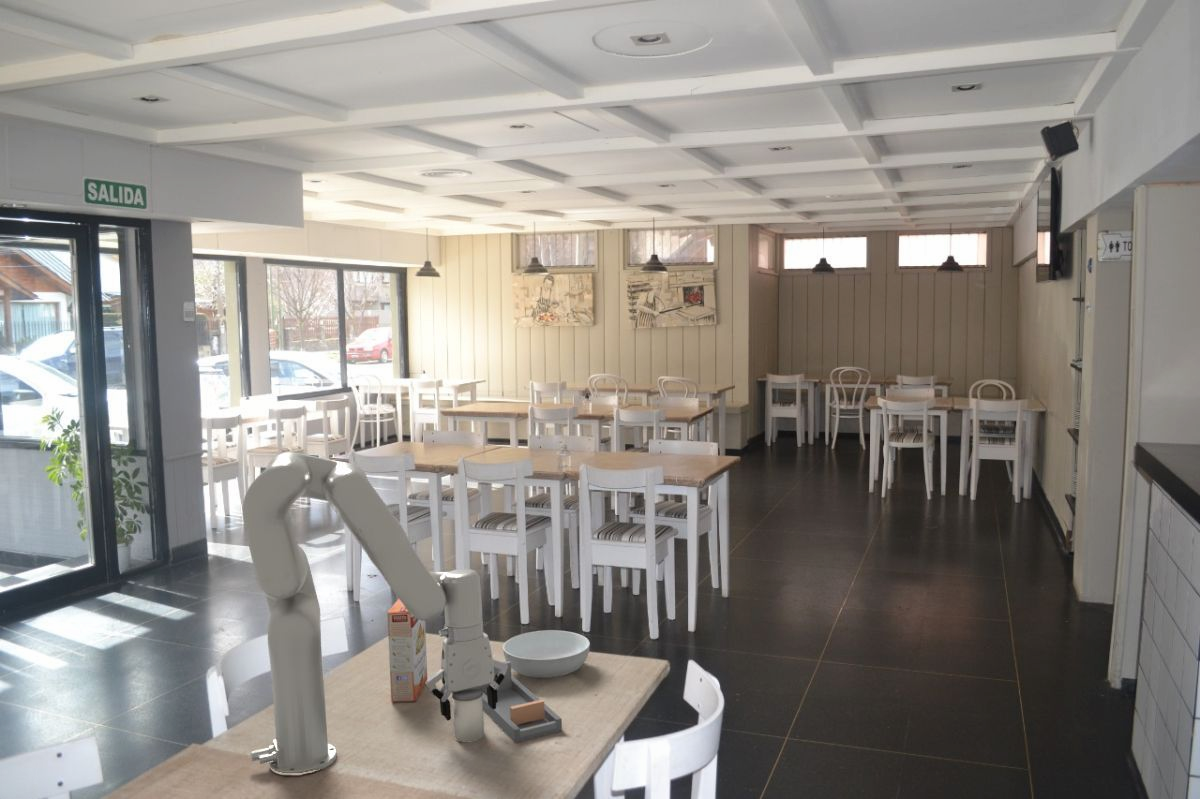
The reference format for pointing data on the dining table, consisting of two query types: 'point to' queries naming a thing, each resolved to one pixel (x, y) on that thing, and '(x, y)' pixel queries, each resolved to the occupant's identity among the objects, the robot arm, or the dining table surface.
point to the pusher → (527, 712)
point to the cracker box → (406, 654)
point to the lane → (514, 695)
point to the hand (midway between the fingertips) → (469, 712)
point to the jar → (468, 714)
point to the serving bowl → (546, 653)
